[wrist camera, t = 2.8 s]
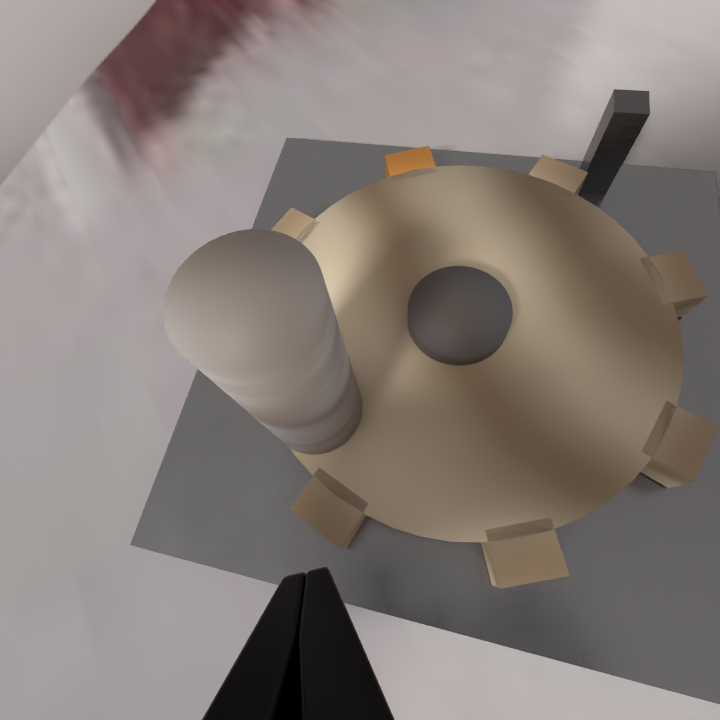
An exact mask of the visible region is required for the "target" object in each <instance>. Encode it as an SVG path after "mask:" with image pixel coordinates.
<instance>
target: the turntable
mask: <svg viewBox="0 0 720 720" xmlns="http://www.w3.org/2000/svg"><path fill="white" fill-rule="evenodd" d="M385 168H386V178H384V179H382V180H379V181H376V182H374V183H371V184H369V185H367V186H365V187H363V188H361V189H359V190H357V191H355V192H353V193H351V194H349V195H347V196H346V197H344V198H343V199H341V200H339V201H338V202H336V203H335V204H333V205H332V206H330V207H329V208H328V209H327V210H325V211H324V212H323V213H322V214H320V215H319V216H318V217H317V218H315V219H313V218H311V217H309V216H307V215H305V214H304V213H302V212H300V211H298V210H296V209H294V208H292V207H291V208H290V209H289V211H288V212H287V213H286V214H285V215H284V216H283V217H282V218H281V219H280V221H279V222H278V223H277V224H276V225H275V226H274V227H273V228H272V229H271V230H264V229H249V230H242V231H236V232H233V233H229V234H226V235H223V236H221V237H218V238H216V239H214V240H212V241H210V242H208V243H207V244H205V245H204V246H202V247H200V248H199V249H198V250H197V251H195V252H194V253H193V254H192V255H191V256H190V257H189V258H187V259H186V260H185V262H184V263H183V264H182V265H181V266H180V267H179V269H178V270H177V272H176V273H175V275H174V276H173V278H172V280H171V282H170V284H169V287H168V289H167V292H166V295H165V300H164V307H163V319H164V325H165V329H166V332H167V335H168V337H169V339H170V341H171V342H172V344H173V346H174V347H175V348H176V349H177V351H178V352H179V353H180V354H181V355H182V356H184V357H185V358H186V359H187V360H188V361H189V362H191V363H192V364H193V365H194V366H195V367H196V368H198V369H199V370H200V371H201V372H202V373H203V374H205V375H206V376H207V377H208V378H209V379H210V380H211V381H213V382H214V383H215V384H216V385H217V386H218V387H220V388H221V389H222V390H223V391H224V392H225V393H227V394H228V395H229V396H230V397H231V398H232V399H234V400H235V401H236V402H237V403H238V404H239V405H240V406H242V407H243V408H244V409H245V410H246V411H247V412H249V413H250V414H251V415H252V416H253V417H254V418H256V419H257V420H258V421H259V422H260V423H261V424H263V425H264V426H265V427H266V428H267V429H268V430H270V431H271V432H272V433H273V434H274V435H275V436H276V437H278V438H279V439H280V440H281V441H282V442H283V443H285V444H286V445H287V446H288V447H290V449H291V450H292V452H293V453H294V455H295V456H296V457H297V458H298V459H299V461H300V462H301V463H302V464H303V465H304V466H305V467H306V468H307V470H308V471H309V472H310V473H311V474H312V475H313V477H312V478H311V479H310V481H309V482H308V484H307V485H306V486H305V488H304V489H303V491H302V492H301V493H300V495H299V496H298V498H297V499H296V500H295V502H294V503H293V505H292V506H291V507H290V509H289V510H291V511H292V512H293V513H294V514H296V515H297V516H298V517H300V518H301V519H302V520H303V521H305V522H306V523H307V524H309V525H310V526H311V527H312V528H314V529H315V530H316V531H317V532H319V533H320V534H321V535H323V536H324V537H325V538H326V539H328V540H329V541H330V542H331V543H333V544H334V545H335V546H337V547H338V548H340V549H346V547H347V546H348V544H349V543H350V541H351V540H352V538H353V537H354V535H355V534H356V532H357V531H358V529H359V528H360V526H361V525H362V523H363V521H364V520H365V518H366V517H367V516H368V517H370V518H372V519H374V520H376V521H379V522H381V523H383V524H385V525H387V526H389V527H392V528H394V529H397V530H401V531H404V532H407V533H410V534H414V535H417V536H420V537H425V538H431V539H437V540H443V541H450V542H480V543H481V545H482V549H483V553H484V557H485V560H486V564H487V568H488V572H489V576H490V580H491V583H492V585H493V586H496V587H498V588H500V589H501V588H506V587H512V586H517V585H523V584H528V583H533V582H539V581H544V580H550V579H555V578H561V577H566V576H570V575H569V572H568V569H567V566H566V563H565V560H564V556H563V553H562V550H561V547H560V544H559V541H558V538H557V535H556V532H555V529H556V528H558V527H561V526H563V525H565V524H568V523H570V522H572V521H575V520H577V519H579V518H582V517H584V516H585V515H587V514H589V513H590V512H592V511H593V510H595V509H597V508H598V507H600V506H602V505H603V504H605V503H606V502H608V501H610V500H611V499H612V498H613V497H614V496H616V495H617V494H618V493H619V492H620V491H621V490H623V489H624V488H625V487H626V486H627V485H628V484H629V483H631V482H632V481H633V480H634V479H635V478H636V476H637V475H638V474H639V473H640V472H641V473H643V474H645V475H646V476H648V477H650V478H652V479H653V480H655V481H657V482H659V483H660V484H662V485H664V486H666V487H667V488H671V487H675V486H679V485H683V484H687V483H691V482H695V480H696V478H697V476H698V474H699V471H700V469H701V467H702V464H703V462H704V460H705V458H706V455H707V453H708V451H709V449H710V446H711V444H712V442H713V440H714V437H715V435H716V433H717V431H718V428H719V427H717V426H716V425H714V424H712V423H710V422H708V421H706V420H704V419H702V418H700V417H698V416H696V415H694V414H692V413H690V412H688V411H686V410H684V409H682V408H681V407H679V406H677V404H678V399H679V394H680V389H681V384H682V375H683V347H682V339H681V331H680V325H679V322H678V318H677V317H682V316H686V315H687V314H688V313H689V312H690V311H691V310H693V309H694V308H695V307H696V306H697V305H698V304H700V303H701V302H702V301H703V300H704V299H705V298H707V297H708V296H709V294H708V293H707V291H706V289H705V287H704V286H703V284H702V282H701V280H700V279H699V277H698V275H697V273H696V272H695V270H694V268H693V267H692V265H691V263H690V261H689V260H688V258H687V256H686V254H685V253H684V251H683V250H679V251H674V252H669V253H664V254H659V255H655V256H650V257H648V255H647V254H646V253H645V252H644V251H643V249H642V248H641V247H640V246H639V244H638V243H637V242H636V241H635V240H634V238H633V237H632V236H631V235H630V234H629V233H628V232H626V231H625V230H624V229H623V228H622V227H621V226H620V225H619V224H618V223H617V222H616V221H615V220H614V219H612V218H611V217H610V216H608V215H607V214H606V213H604V212H603V211H602V210H600V209H599V208H598V207H596V206H595V205H593V204H592V203H590V202H588V201H587V200H585V199H583V198H582V197H580V196H578V193H579V191H580V189H581V187H582V184H583V182H584V180H585V178H586V176H587V174H588V172H586V171H584V170H581V169H578V168H576V167H573V166H571V165H568V164H565V163H563V162H560V161H557V160H555V159H552V158H550V157H547V156H544V155H542V156H541V158H540V159H539V160H538V162H537V163H536V165H535V166H534V167H533V169H532V170H531V172H530V173H529V174H523V173H519V172H515V171H511V170H506V169H500V168H492V167H485V166H464V165H455V166H439V167H436V166H435V163H434V160H433V157H432V154H431V150H430V147H429V146H426V147H422V148H417V149H412V150H407V151H403V152H398V153H393V154H389V155H385Z"/></svg>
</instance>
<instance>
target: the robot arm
mask: <svg viewBox="0 0 720 720" xmlns="http://www.w3.org/2000/svg"><path fill="white" fill-rule="evenodd" d="M202 720H394V717H393V715H392V713H391V711H390V708H389V706H388V704H387V701H386V699H385V697H384V694H383V692H382V690H381V688H380V685H379V683H378V681H377V678H376V676H375V674H374V671H373V669H372V667H371V665H370V662H369V660H368V658H367V655H366V653H365V651H364V648H363V646H362V644H361V641H360V639H359V637H358V635H357V632H356V630H355V628H354V625H353V623H352V621H351V618H350V616H349V614H348V612H347V609H346V607H345V605H344V602H343V600H342V598H341V595H340V593H339V591H338V589H337V586H336V584H335V582H334V579H333V577H332V575H331V572H330V570H329V568H327V567H322V568H318V569H314V570H310V571H308V572H307V574H306V573H304V572H301V573H297V574H292V575H288V576H286V577H284V578H283V579H282V581H281V583H280V584H279V586H278V588H277V590H276V591H275V593H274V595H273V597H272V598H271V600H270V602H269V604H268V605H267V607H266V609H265V611H264V612H263V614H262V616H261V618H260V619H259V621H258V623H257V625H256V626H255V628H254V630H253V632H252V633H251V635H250V637H249V639H248V640H247V642H246V644H245V646H244V647H243V649H242V651H241V653H240V654H239V656H238V658H237V660H236V661H235V663H234V665H233V667H232V668H231V670H230V672H229V674H228V675H227V677H226V679H225V681H224V682H223V684H222V686H221V688H220V689H219V691H218V693H217V695H216V696H215V698H214V700H213V702H212V703H211V705H210V707H209V709H208V710H207V712H206V714H205V716H204V717H203V719H202Z"/></svg>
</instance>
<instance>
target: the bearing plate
mask: <svg viewBox="0 0 720 720" xmlns="http://www.w3.org/2000/svg"><path fill="white" fill-rule="evenodd" d="M649 114H650V109H649V91H634V90H615V89H614V91H613V94H612V96H611V98H610V100H609V103H608V105H607V107H606V109H605V112H604V114H603V116H602V118H601V121H600V123H599V125H598V128H597V130H596V132H595V134H594V137H593V139H592V141H591V143H590V146H589V148H588V150H587V152H586V155H585V157H584V159H583V161H573V160H560V159H555V160H557V161H560V162H563V163H565V164H568V165H571V166H573V167H576V168H578V169H581V170H584V171H586V172H588V174H587V176H586V178H585V180H584V182H583V184H582V187H581V189H580V191H579V193H578V196H580V197H582V198H583V199H585V200H587V201H588V202H590V203H592V204H593V205H595V206H596V207H598V208H599V209H600V210H602V211H603V212H604V213H606V214H607V215H608V216H610V217H611V218H612V219H614V220H615V221H616V222H617V223H618V224H619V225H620V226H621V227H622V228H623V229H624V230H625V231H626V232H628V233H629V234H630V235H631V236H632V237H633V238H634V240H635V241H636V242H637V243H638V244H639V246H640V247H641V248H642V249H643V251H644V252H645V253H646V254H647V255H648V257H650V256H655V255H659V254H664V253H669V252H674V251H679V250H683V251H684V253H685V254H686V256H687V258H688V260H689V261H690V263H691V265H692V267H693V268H694V270H695V272H696V273H697V275H698V277H699V279H700V280H701V282H702V284H703V286H704V287H705V289H706V291H707V293H708V294H709V296H708V297H707V298H705V299H704V300H703V301H702V302H701V303H700V304H698V305H697V306H696V307H695V308H694V309H693V310H691V311H690V312H689V313H688V314H687V315H686V316H682V317H677V318H678V322H679V325H680V331H681V339H682V347H683V375H682V384H681V389H680V394H679V399H678V404H677V406H679V407H681V408H682V409H684V410H686V411H688V412H690V413H692V414H694V415H696V416H698V417H700V418H702V419H704V420H706V421H708V422H710V423H712V424H714V425H716V426H717V427H719V428H718V431H717V433H716V435H715V437H714V440H713V442H712V444H711V446H710V449H709V451H708V453H707V455H706V458H705V460H704V462H703V464H702V467H701V469H700V471H699V474H698V476H697V478H696V480H695V482H691V483H687V484H683V485H679V486H675V487H671V488H667V487H666V486H664V485H662V484H660V483H659V482H657V481H655V480H653V479H652V478H650V477H648V476H646V475H645V474H643V473H641V472H640V473H639V474H638V475H637V476H636V478H635V479H634V480H633V481H632V482H631V483H629V484H628V485H627V486H626V487H625V488H624V489H623V490H621V491H620V492H619V493H618V494H617V495H616V496H614V497H613V498H612V499H611V500H610V501H608V502H606V503H605V504H603V505H602V506H600V507H598V508H597V509H595V510H593V511H592V512H590V513H589V514H587V515H585V516H584V517H582V518H579V519H577V520H575V521H572V522H570V523H568V524H565V525H563V526H561V527H558V528H556V529H555V532H556V535H557V538H558V541H559V544H560V547H561V550H562V553H563V556H564V560H565V563H566V566H567V569H568V572H569V575H570V576H566V577H561V578H555V579H550V580H544V581H539V582H533V583H528V584H523V585H517V586H512V587H506V588H501V589H500V588H498V587H496V586H493V585H492V583H491V580H490V576H489V572H488V568H487V564H486V560H485V557H484V553H483V549H482V545H481V543H480V542H450V541H443V540H437V539H431V538H425V537H420V536H417V535H414V534H410V533H407V532H404V531H401V530H397V529H394V528H392V527H389V526H387V525H385V524H383V523H381V522H379V521H376V520H374V519H372V518H370V517H368V516H367V517H366V518H365V520H364V521H363V523H362V525H361V526H360V528H359V529H358V531H357V532H356V534H355V535H354V537H353V538H352V540H351V541H350V543H349V544H348V546H347V547H346V549H340V548H338V547H337V546H335V545H334V544H333V543H331V542H330V541H329V540H328V539H326V538H325V537H324V536H323V535H321V534H320V533H319V532H317V531H316V530H315V529H314V528H312V527H311V526H310V525H309V524H307V523H306V522H305V521H303V520H302V519H301V518H300V517H298V516H297V515H296V514H294V513H293V512H292V511H291V510H289V509H290V507H291V506H292V505H293V503H294V502H295V500H296V499H297V498H298V496H299V495H300V493H301V492H302V491H303V489H304V488H305V486H306V485H307V484H308V482H309V481H310V479H311V478H312V477H313V475H312V474H311V473H310V472H309V471H308V470H307V468H306V467H305V466H304V465H303V464H302V463H301V462H300V461H299V459H298V458H297V457H296V456H295V455H294V453H293V452H292V450H291V449H290V447H288V446H287V445H286V444H285V443H283V442H282V441H281V440H280V439H279V438H278V437H276V436H275V435H274V434H273V433H272V432H271V431H270V430H268V429H267V428H266V427H265V426H264V425H263V424H261V423H260V422H259V421H258V420H257V419H256V418H254V417H253V416H252V415H251V414H250V413H249V412H247V411H246V410H245V409H244V408H243V407H242V406H240V405H239V404H238V403H237V402H236V401H235V400H234V399H232V398H231V397H230V396H229V395H228V394H227V393H225V392H224V391H223V390H222V389H221V388H220V387H218V386H217V385H216V384H215V383H214V382H213V381H211V380H210V379H209V378H208V377H207V376H206V375H205V374H203V373H202V372H201V371H200V370H199V369H198V370H197V373H196V375H195V378H194V380H193V383H192V386H191V388H190V391H189V393H188V396H187V399H186V401H185V404H184V406H183V409H182V412H181V414H180V417H179V419H178V422H177V425H176V427H175V430H174V432H173V435H172V438H171V440H170V443H169V445H168V448H167V451H166V453H165V456H164V458H163V461H162V464H161V466H160V469H159V471H158V474H157V477H156V479H155V482H154V484H153V487H152V490H151V492H150V495H149V497H148V500H147V503H146V505H145V508H144V510H143V513H142V516H141V518H140V521H139V523H138V526H137V529H136V531H135V534H134V536H133V539H132V542H131V544H130V545H133V546H136V547H140V548H144V549H147V550H151V551H155V552H159V553H162V554H166V555H170V556H173V557H177V558H181V559H184V560H188V561H192V562H196V563H199V564H203V565H207V566H210V567H214V568H218V569H221V570H225V571H229V572H233V573H236V574H240V575H244V576H247V577H251V578H255V579H258V580H262V581H266V582H270V583H273V584H277V585H279V584H280V583H281V581H282V579H283V578H284V577H286V576H288V575H292V574H297V573H301V572H304V573H306V574H307V572H308V571H310V570H314V569H318V568H322V567H327V568H329V570H330V572H331V575H332V577H333V579H334V582H335V584H336V586H337V589H338V591H339V593H340V595H341V598H342V600H343V602H344V603H347V604H351V605H355V606H358V607H362V608H366V609H369V610H373V611H377V612H381V613H384V614H388V615H392V616H395V617H399V618H403V619H407V620H410V621H414V622H418V623H421V624H425V625H429V626H432V627H436V628H440V629H444V630H447V631H451V632H455V633H458V634H462V635H466V636H469V637H473V638H477V639H481V640H484V641H488V642H492V643H495V644H499V645H503V646H506V647H510V648H514V649H518V650H521V651H525V652H529V653H532V654H536V655H540V656H543V657H547V658H551V659H555V660H558V661H562V662H566V663H569V664H573V665H577V666H580V667H584V668H588V669H592V670H595V671H599V672H603V673H606V674H610V675H614V676H617V677H621V678H625V679H629V680H632V681H636V682H640V683H643V684H647V685H651V686H654V687H658V688H662V689H666V690H669V691H673V692H677V693H680V694H684V695H688V696H691V697H695V698H699V699H703V700H706V701H710V702H714V703H717V704H720V212H719V201H718V190H717V180H716V172H712V171H699V170H687V169H674V168H661V167H649V166H636V165H624V164H623V162H624V160H625V158H626V156H627V155H628V153H629V151H630V149H631V147H632V146H633V144H634V142H635V140H636V138H637V136H638V135H639V133H640V131H641V129H642V127H643V125H644V124H645V122H646V120H647V118H648V116H649ZM412 149H417V148H409V147H396V146H384V145H371V144H358V143H346V142H333V141H320V140H308V139H295V138H287V139H286V141H285V144H284V146H283V149H282V152H281V154H280V157H279V159H278V162H277V165H276V167H275V170H274V172H273V175H272V178H271V180H270V183H269V185H268V188H267V191H266V193H265V196H264V198H263V201H262V204H261V206H260V209H259V211H258V214H257V217H256V219H255V222H254V224H253V227H252V229H264V230H271V229H272V228H273V227H274V226H275V225H276V224H277V223H278V222H279V221H280V219H281V218H282V217H283V216H284V215H285V214H286V213H287V212H288V211H289V209H290V208H291V207H292V208H294V209H296V210H298V211H300V212H302V213H304V214H305V215H307V216H309V217H311V218H313V219H315V218H317V217H318V216H319V215H320V214H322V213H323V212H324V211H325V210H327V209H328V208H329V207H330V206H332V205H333V204H335V203H336V202H338V201H339V200H341V199H343V198H344V197H346V196H347V195H349V194H351V193H353V192H355V191H357V190H359V189H361V188H363V187H365V186H367V185H369V184H371V183H374V182H376V181H379V180H382V179H384V178H386V168H385V155H389V154H393V153H398V152H403V151H407V150H412ZM430 150H431V154H432V157H433V160H434V163H435V166H436V167H439V166H455V165H464V166H485V167H492V168H500V169H506V170H511V171H515V172H519V173H523V174H529V173H530V172H531V170H532V169H533V167H534V166H535V165H536V163H537V162H538V160H539V159H540V158H535V157H523V156H510V155H497V154H485V153H472V152H459V151H447V150H434V149H430Z"/></svg>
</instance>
